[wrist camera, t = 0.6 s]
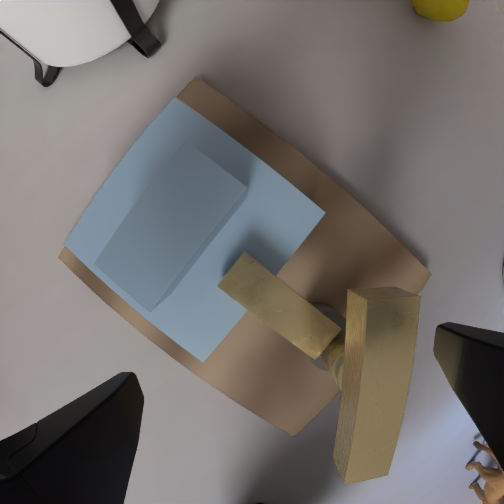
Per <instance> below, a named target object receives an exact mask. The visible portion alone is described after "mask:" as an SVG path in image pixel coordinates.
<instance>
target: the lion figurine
mask: <svg viewBox="0 0 504 504" xmlns="http://www.w3.org/2000/svg"><path fill="white" fill-rule="evenodd" d="M484 444H485V445H488V444H487V442H486V441H485V440H484ZM473 445H474V446H475V447H476V448H477V449H481V450H484V451H486V452H487V453H489V454H490V455H491V456H492V457H493V458H494V459H495V460H496V461H497V459H496V458H495V456H494V454H493V452H492V451H491V449H490V448H488V447H486V446H483V445H481V444H480V443H479V442H477V441H475V442H474V443H473ZM497 464H498V469H495V468H487V467H484V466H482V465H481V463H480V462H474V461H472V462H470V463H469V464H468V465H467V466H466V470H471V469H472V468H475V469H476V470H477V471H478V472H479V474H480V475H481V477H482V478H483V479H484V480H485V481H486V484H485V486H484V490H482V489H481V488H480V486H479V484H478V483H477V482H474V483H472V484H471V485H470V487H469V489H474V490H475V493H476V494H477V496H478V498H479V499H480V500H482V501H483V504H504V472H503V470H502V468H501V466H500V465H499V463H498V461H497Z"/></svg>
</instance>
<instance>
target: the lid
mask: <svg viewBox="0 0 504 504" xmlns="http://www.w3.org/2000/svg"><path fill="white" fill-rule="evenodd" d="M324 214H325V212H324V211H323V210H322V209H321V208H320V207H318V206H317V205H316V204H315V203H314V202H312V201H311V200H310V199H309V198H308V197H307V196H305V195H304V194H303V193H302V192H300V191H299V190H298V189H297V188H296V187H294V186H293V185H292V184H291V183H290V182H288V181H287V180H286V179H285V178H283V177H282V176H281V175H280V174H278V173H277V172H276V171H275V170H273V169H272V168H271V167H270V166H268V165H267V164H266V163H264V162H263V161H262V160H261V159H259V158H258V157H257V156H255V155H254V154H253V153H252V152H250V151H249V150H248V149H246V148H245V147H244V146H242V145H241V144H240V143H238V142H237V141H236V140H234V139H233V138H232V137H230V136H229V135H228V134H226V133H225V132H224V131H222V130H221V129H220V128H218V127H217V126H216V125H214V124H213V123H211V122H210V121H209V120H207V119H206V118H204V117H203V116H202V115H200V114H199V113H197V112H196V111H195V110H193V109H192V108H190V107H189V106H187V105H186V104H185V103H183V102H182V101H180V100H179V99H177V98H176V97H174V98H173V99H172V100H171V101H170V102H169V103H168V104H167V105H166V106H165V108H164V109H163V110H162V111H161V112H160V113H159V114H158V116H157V117H156V118H155V119H154V120H153V121H152V123H151V124H150V125H149V126H148V127H147V128H146V130H145V131H144V132H143V133H142V134H141V136H140V137H139V138H138V139H137V141H136V142H135V143H134V144H133V146H132V147H131V148H130V149H129V151H128V152H127V153H126V154H125V156H124V157H123V158H122V160H121V161H120V162H119V164H118V165H117V166H116V168H115V169H114V170H113V172H112V173H111V174H110V176H109V177H108V178H107V180H106V181H105V183H104V184H103V185H102V187H101V188H100V190H99V191H98V193H97V194H96V195H95V197H94V198H93V200H92V201H91V203H90V204H89V206H88V207H87V209H86V210H85V212H84V213H83V215H82V216H81V218H80V220H79V221H78V223H77V224H76V226H75V227H74V229H73V231H72V232H71V234H70V236H69V237H68V239H67V240H66V242H65V244H64V245H65V246H66V247H67V248H68V249H69V250H70V251H71V252H72V253H73V254H74V255H75V256H76V257H77V258H78V259H79V260H80V261H82V262H83V263H84V264H85V265H86V266H87V267H88V268H89V269H90V270H91V271H92V272H93V273H94V274H95V275H96V276H98V277H99V278H100V279H101V280H102V281H103V282H104V283H105V284H106V285H107V286H109V287H110V288H111V289H112V290H113V291H114V292H115V293H116V294H118V295H119V296H120V297H121V298H122V299H123V300H124V301H126V302H127V303H128V304H129V305H130V306H131V307H133V308H134V309H135V310H136V311H137V312H139V313H140V314H141V315H142V316H143V317H145V318H146V319H147V320H148V321H150V322H151V323H152V324H153V325H154V326H156V327H157V328H158V329H159V330H161V331H162V332H163V333H164V334H166V335H167V336H168V337H170V338H171V339H172V340H173V341H175V342H176V343H177V344H179V345H180V346H181V347H183V348H184V349H185V350H187V351H188V352H189V353H191V354H192V355H193V356H195V357H196V358H197V359H199V360H200V361H201V362H204V361H205V360H206V359H207V358H208V356H209V355H210V354H211V353H212V352H213V351H214V349H215V348H216V347H217V346H218V345H219V344H220V342H221V341H222V340H223V339H224V338H225V336H226V335H227V334H228V333H229V332H230V331H231V329H232V328H233V327H234V326H235V325H236V323H237V322H238V321H239V320H240V319H241V317H242V316H243V315H244V314H245V313H246V311H247V309H246V308H245V307H243V306H242V305H241V304H239V303H238V302H237V301H236V300H234V299H233V298H232V297H230V296H229V295H228V294H227V293H225V292H224V291H223V290H221V289H220V288H219V287H218V286H217V285H218V283H219V282H220V280H221V279H222V278H223V277H224V275H225V274H226V273H227V272H228V270H229V269H230V268H231V267H232V265H233V264H234V263H235V262H236V260H237V259H238V258H239V257H240V255H241V254H242V253H243V252H244V250H245V251H246V252H247V253H248V254H250V255H251V256H252V257H253V258H255V259H256V260H257V261H258V262H260V263H261V264H262V265H263V266H265V267H266V268H267V269H268V270H270V271H271V272H272V273H273V274H275V275H277V274H278V272H279V271H280V270H281V269H282V267H283V266H284V265H285V264H286V262H287V261H288V260H289V259H290V257H291V256H292V255H293V254H294V252H295V251H296V250H297V249H298V247H299V246H300V245H301V244H302V242H303V241H304V240H305V239H306V237H307V236H308V235H309V234H310V232H311V231H312V230H313V229H314V227H315V226H316V225H317V223H318V222H319V221H320V220H321V218H322V217H323V216H324Z"/></svg>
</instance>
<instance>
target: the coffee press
mask: <svg viewBox="0 0 504 504" xmlns="http://www.w3.org/2000/svg"><path fill="white" fill-rule="evenodd" d="M158 2H159V0H0V29H1V30H2V31H4V32H5V33H6V34H7V35H9V36H10V37H11V38H12V39H13V40H15V41H16V42H17V43H18V44H20V45H21V46H22V47H23V48H25V49H26V50H27V51H28V52H30V53H31V54H32V55H33V56H35V57H36V58H37V59H39V60H40V61H42V62H43V63H45V64H47V65H49V70H48V74H47V75H46V77H45V78H43V70H42V66H41V64H40V63H39V62H38V61H37V60H36V59H35V58H34V57H32V56H31V55H30V54H29V53H28V52H26V51H25V50H24V49H23V48H21V47H20V46H19V45H18V44H16V43H15V42H14V41H13V40H11V39H10V38H9V37H8V36H7V35H5V34H4V33H3V32H2V31H0V33H1V34H2V35H3V36H4V37H6V38H7V39H8V40H9V41H11V42H12V43H13V44H15V45H16V46H17V47H18V48H20V49H21V50H22V51H23V52H24V53H26V54H27V55H28V56H29V57H30V58H31V59H32V60H33V62H34V66H35V79H36V80H37V81H38V82H39V83H40V84H41V85H42V86H44V87H48V86H50V85H51V84H53V82H54V81H55V79H56V76H57V70H58V67H70V66H76V65H80V64H84V63H87V62H90V61H93V60H95V59H97V58H100V57H102V56H104V55H106V54H108V53H109V52H111V51H113V50H114V49H116V48H118V47H119V46H120V45H122V44H123V43H125V42H126V41H127V42H128V43H130V44H131V45H132V46H133V47H134V48H135V49H136V50H138V51H139V52H140V53H141V54H142V55H143V56H145V57H147V58H149V57H150V56H151V55H152V54H153V53H155V52H156V51H157V50H158V49H159V48H160V47H161V43H160V42H159V41H158V40H157V39H156V37H155V36H154V35H153V34H152V33H151V32H150V31H149V30H148V28H147V27H146V26H145V23H146V22H147V21H148V19H149V18H150V17H151V15H152V14H153V12H154V10H155V9H156V7H157V5H158Z"/></svg>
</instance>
